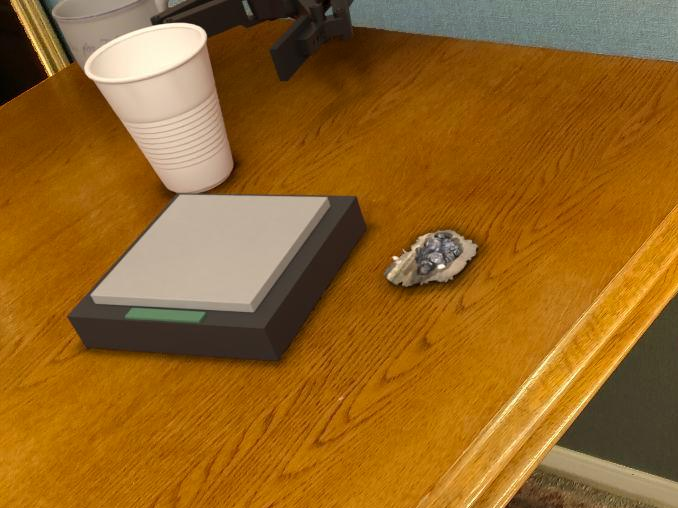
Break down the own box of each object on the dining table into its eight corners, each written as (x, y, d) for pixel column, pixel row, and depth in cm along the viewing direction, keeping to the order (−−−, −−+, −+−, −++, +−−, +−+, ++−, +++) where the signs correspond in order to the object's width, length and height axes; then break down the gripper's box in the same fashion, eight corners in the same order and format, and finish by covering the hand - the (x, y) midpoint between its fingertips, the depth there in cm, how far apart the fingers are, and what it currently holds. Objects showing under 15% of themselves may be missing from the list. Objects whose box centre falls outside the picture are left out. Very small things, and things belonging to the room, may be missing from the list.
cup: (146, 221, 84) (81, 92, 75) (144, 167, 90) (84, 43, 82) (261, 188, 84) (210, 56, 76) (250, 137, 91) (202, 11, 83)
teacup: (70, 101, 103) (28, 20, 97) (121, 52, 109) (85, -26, 103) (188, 96, 99) (152, 12, 93) (233, 46, 106) (203, -35, 100)
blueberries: (380, 299, 71) (373, 276, 70) (394, 236, 76) (387, 214, 75) (474, 288, 70) (468, 265, 69) (481, 225, 75) (476, 203, 74)
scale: (85, 347, 73) (60, 307, 70) (191, 223, 82) (173, 183, 80) (278, 361, 68) (259, 318, 65) (366, 228, 78) (353, 185, 75)
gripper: (433, 1, 99) (351, 107, 86) (216, 11, 106) (110, 111, 93) (415, -84, 93) (324, 16, 80) (187, -67, 100) (70, 28, 87)
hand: (209, 67), depth 87 cm, fingers open, 13 cm apart
